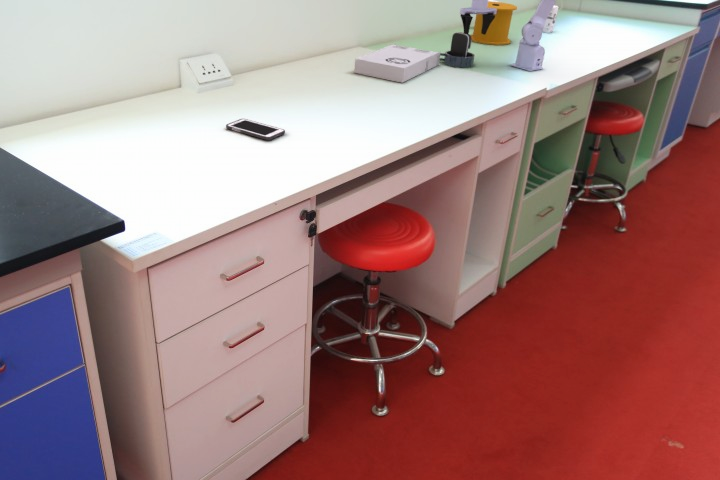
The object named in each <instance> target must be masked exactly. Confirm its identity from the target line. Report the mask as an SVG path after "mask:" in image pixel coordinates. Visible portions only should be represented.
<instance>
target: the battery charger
mask: <svg viewBox="0 0 720 480" xmlns="http://www.w3.org/2000/svg"><path fill="white" fill-rule="evenodd" d="M471 35H472V34H466V33H464V32H460V31H458V32H454V33H453V34H452V37H451V43H450V50H449V51H450V55H452V56H456V57H467V53H468V52H469V50H470V49H471V45H472V41H471Z"/></svg>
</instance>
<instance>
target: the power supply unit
mask: <svg viewBox="0 0 720 480" xmlns="http://www.w3.org/2000/svg"><path fill="white" fill-rule="evenodd" d="M441 53H442V52H441V51H431V50H425V49H420V48H414V47H410V46H403V45H399V44H398V45H397V44H396V43H393V44H390V45H387V46H385V47H381V48H380V49H377V50H373V51H371V52H368V53H366V54H363V55H361V56H358V57H356V58H355V59H354V68H353V69H354V71H353V73H354V74H358V75H364V76H368V77H372V78H378V79H383V80H388V81H392V82H397V83H402V84H403V83H405V82H407V81H408V80H411V79H413V78H415V77H417V76H419V75H422V74H423V73H425V72H427V71H430V70H431V69H433V68H435V67H437V66H439V65H440V61H439V60H440V58H441V56H440V54H441Z"/></svg>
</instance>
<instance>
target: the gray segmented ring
mask: <svg viewBox="0 0 720 480" xmlns="http://www.w3.org/2000/svg"><path fill="white" fill-rule="evenodd" d="M441 56H442V57H444V58H442V57H441ZM475 56H476V54H475V53H472V52H471V51H468V53H467V57H456V56H452V55H450V50H447V51H445V52H441V54H440V60H439V62H443V64H444V65H445V66H448V67H452V68H459V69H460V68H461V69H468V68H472V67H474V63H475V62H474V60H475Z"/></svg>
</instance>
